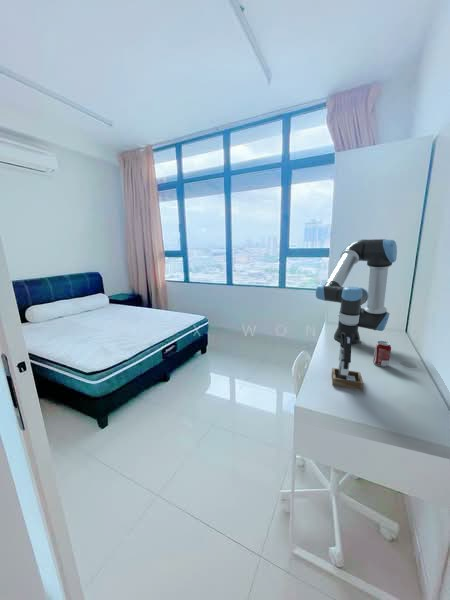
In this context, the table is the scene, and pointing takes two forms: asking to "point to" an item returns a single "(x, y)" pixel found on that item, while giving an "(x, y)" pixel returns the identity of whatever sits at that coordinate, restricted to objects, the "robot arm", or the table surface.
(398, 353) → the table surface
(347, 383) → the wooden frame
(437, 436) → the table surface
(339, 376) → the bracket
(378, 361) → the soda can
